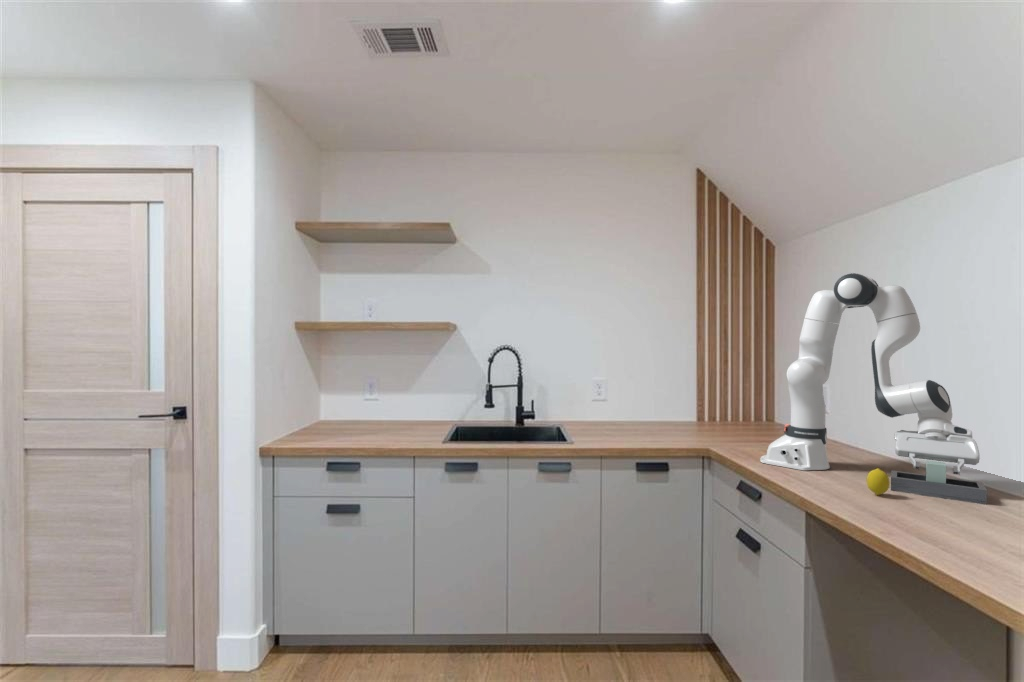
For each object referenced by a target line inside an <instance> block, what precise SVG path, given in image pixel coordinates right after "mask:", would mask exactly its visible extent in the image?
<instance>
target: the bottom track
mask: <svg viewBox="0 0 1024 682" xmlns="http://www.w3.org/2000/svg"><path fill="white" fill-rule="evenodd" d="M890 471H891V472H890V491H893V492H898V493H899V492H901V493H907V494H913V495H920V496H927V497H934V498H941V499H945V500H947V499H948V500H954V501H961V502H966V503H976V504H979V505H980V504H981V505H988V501H987V500H988V490H987V488H986V486H985V484H984V483H983V481H975V480H969V479H968V480H967V479H960V478H953V477H946V484H945V483H937V482H930V481H926V474H922V473H915V472H914V473H913V472H908V471H899V470H890Z"/></svg>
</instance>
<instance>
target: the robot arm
mask: <svg viewBox="0 0 1024 682" xmlns="http://www.w3.org/2000/svg"><path fill="white" fill-rule="evenodd" d="M864 307H868V308H869V309H870V310H871V311H872V313H873V315H874V316H873V317H874V318H875V321H876V325H877V335H876V337H875V339H873V340H872V341H871V349H870V350H871V362H872V372H873V373H872V374H873V380H874V381H873V382H874V402H875V407H876V409H877V411H878V412H880V413H881V414H882V415H884V416H886V417H887V418H892V419H893V418H896V417H901V416H905V415H910V414H917V417H918V421H917V430H904V429H901V430H897V431H896V432H895V433H894V437H893V438H894V440H895V441H896V442H895V447H894V449H895V450H894V451H895V453H894V454H896V456H897V457H903V458H908V460H909V462H911V464H912V466H913V469H914V470H920V466H921V465H920V461H916V459H920V460H926V461H935V462H943V463H945V462H947V463H954V464H957V465H953V466H952V467H953V468H952V474H953V475H959V476H960V474H961V470H962V469H963V468H964V466H965V465H972V466H976V465H978V464H979V463H980V459H981V458H980V450H979V446H978V444H977V441H975V439H974V438H973V432H972V430H971V429H968V428H965V427H961V426H958V425H955V424H953V423H952V418H953V409H952V404H951V400H950V395H949V393H948V392H947V390H946V389H945V387H944V386H943V385H941V384H940V383H938V382H936V381H933V380H930V379H926V380H925V379H924V380H919V381H913V382H909V383H904V384H898V385H897V384H896V385H893V384H892V379H891V377H892V376H891V370H890V369H891V367H890V359H891V357H892V356H893V355H894V354H895V353H896V352H898V351H899V350H901V349H902V348H904V347H906V346H908V345H909V344H911V343H912V342H913V341H914V340H916V338H917V337H918V336H919V334H920V331H921V323H920V319H919V315H918V313H917V310H916V307H915V305H914V304H913V301H912V299H911V297H910V295H909V294H908V293H907V291H906V289H905V288H904V287H902V286H900V285H896V284H895V285H894V284H893V285H892V284H891V285H890V284H889V285H885V286H879V283H877V281H876V280H875V279H873V278H871V277H869V276H868V275H865V274H862V273H861V274H860V273H854V272H853V273H851V272H850V273H847V274H844V275H842V276H841V277H839V278H838V279H837V280H836V281H835V284H834V286H833V289H831V290H829V289H823V290H818V291H816V292H815V293H814V294H813V295H812V297H811V299H810V302H809V303H808V306H807V308H806V311H805V314H804V319H803V322H802V327H801V330H800V333H799V338H798V342H799V344H798V345H799V346H798V347H799V348H798V357H797V359H796V360H794V361H793V362H791V363H790V364H789V366H788V368H787V370H786V378H787V385H788V394H789V399H790V400H789V401H790V402H789V403H790V424H788V423H787V424H785V425H784V429H783V432H784V433H783V434H784V435H781V436H780V437H778V438H777V439H775V440H774V441H772V442H771V443H770V444H769V445H768V447H767V450H766V454H764V455H762V456H760V458H759V461H760V462H761V463H762V464H767V465H771V466H772V465H773V466H778V467H784V468H788V469H794V470H799V471H817V470H818V471H821V470H822V471H824V470H828V469H830V468H831V466H830V463H829V458H828V455H827V454H828V453H827V447H826V445H827V442H828V441H827V440H828V431H827V430H828V429H827V427H826V408H827V407H826V404H825V397H824V395H825V394H824V389H823V388H824V387H823V385H824V384H826V383H827V381H828V379H829V377H830V372H831V366H832V362H833V354H834V353H833V352H834V346H835V341H836V338H837V335H838V331H839V326H840V322H841V319H842V315H843V313H844V311H845V310H846V309H853V308H864Z"/></svg>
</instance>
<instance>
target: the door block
mask: <svg viewBox="0 0 1024 682" xmlns="http://www.w3.org/2000/svg"><path fill="white" fill-rule="evenodd" d="M925 465H926V466H925V475H926V481H930V482H937V483H945V484H946V478H947V464H946V463H945V462H943V461H935V460H926V461H925Z"/></svg>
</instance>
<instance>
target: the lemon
mask: <svg viewBox="0 0 1024 682" xmlns="http://www.w3.org/2000/svg"><path fill="white" fill-rule="evenodd" d="M889 478H890V477H889V475H888V474H887V473H886V472H885V471H883V470H882V469H880V468H878V467H877V468H876V469H872V470H870V471H869V472H868V474H867V477H866V485H867V488H868V489H869V490H870V491H871V492H872V493H874V494H875V495H876V496H880V495H882V494H885V493H886V492H888V490H889V488H890V479H889Z"/></svg>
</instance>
